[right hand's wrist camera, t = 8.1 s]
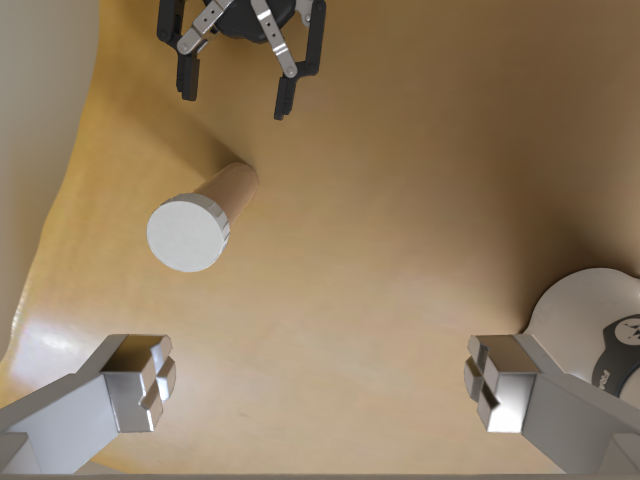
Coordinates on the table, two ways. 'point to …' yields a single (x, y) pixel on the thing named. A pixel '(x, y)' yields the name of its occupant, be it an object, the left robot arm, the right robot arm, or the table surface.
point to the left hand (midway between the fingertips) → (234, 109)
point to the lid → (188, 232)
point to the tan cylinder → (231, 189)
